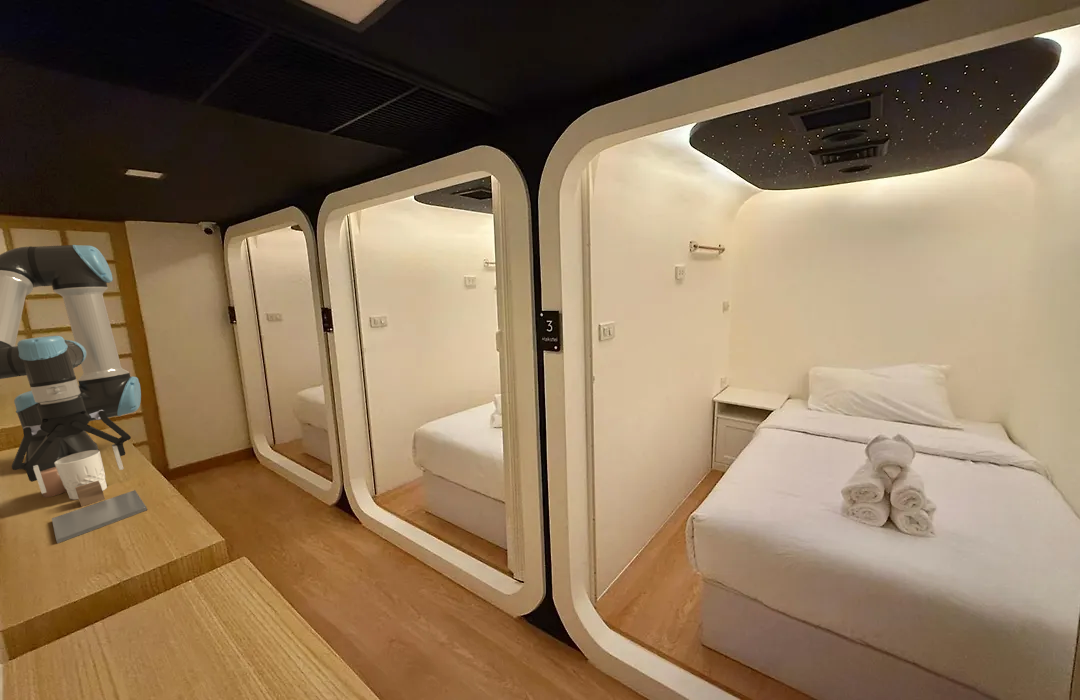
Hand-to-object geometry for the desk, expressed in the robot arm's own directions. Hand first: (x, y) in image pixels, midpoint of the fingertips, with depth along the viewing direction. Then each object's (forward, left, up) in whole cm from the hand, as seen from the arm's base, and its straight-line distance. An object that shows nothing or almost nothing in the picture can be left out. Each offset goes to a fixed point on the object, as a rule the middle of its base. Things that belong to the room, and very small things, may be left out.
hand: (84, 479), depth 107 cm
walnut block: (+5, +4, -4) cm, 8 cm away
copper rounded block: (-4, -10, -4) cm, 11 cm away
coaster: (+15, +12, -4) cm, 19 cm away
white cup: (0, 0, -4) cm, 4 cm away
